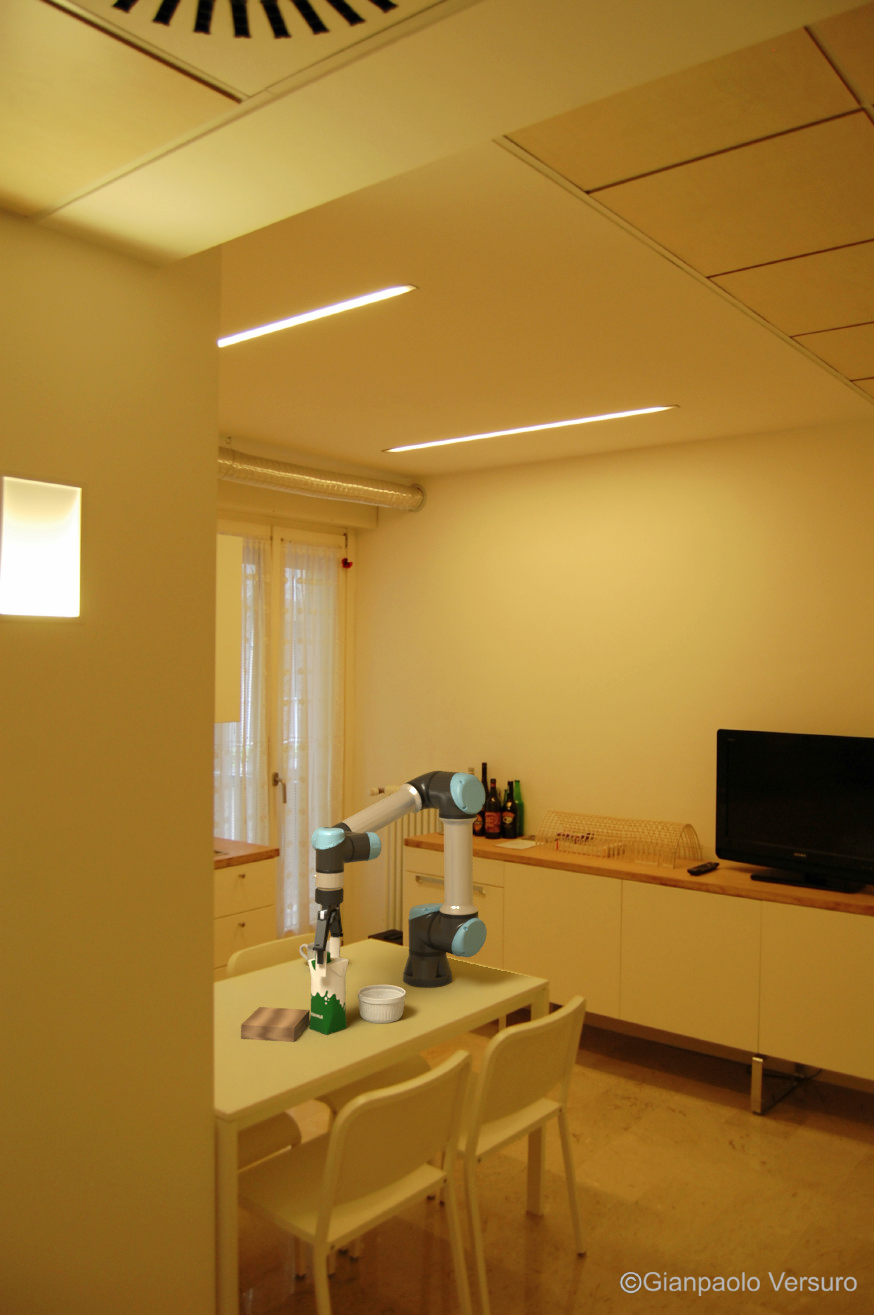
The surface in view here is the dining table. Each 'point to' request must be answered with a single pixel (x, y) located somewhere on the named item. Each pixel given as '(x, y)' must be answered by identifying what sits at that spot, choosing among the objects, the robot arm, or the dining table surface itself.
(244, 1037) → the plinth
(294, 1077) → the dining table surface
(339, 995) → the soya milk
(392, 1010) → the ramekin
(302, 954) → the teacup
